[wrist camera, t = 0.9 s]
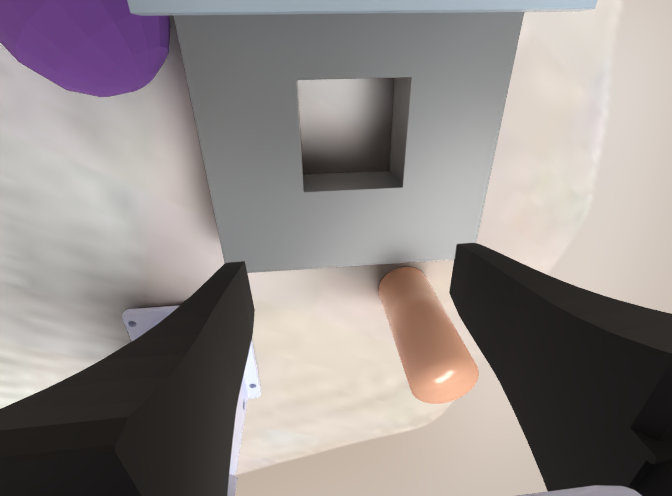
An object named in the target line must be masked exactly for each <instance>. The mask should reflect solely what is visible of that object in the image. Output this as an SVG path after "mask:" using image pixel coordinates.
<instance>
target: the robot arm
mask: <svg viewBox="0 0 672 496" xmlns="http://www.w3.org/2000/svg"><path fill="white" fill-rule="evenodd" d="M449 293H450V295H451V297H452V300H453V302H454V305H455V307H456V309H457V311H458V314H459V316H460V318H461V319H462V321H463V323H464V324H465V326H466V328H467V329H468V331H469V332H470V334H471V336H472V337H473V339H474V341H475V342H476V344H477V345H478V347H479V348H480V350H481V352H482V353H483V355H484V356H485V358H486V360H487V361H488V363H489V364H490V366H491V368H492V369H493V371H494V373H495V374H496V376H497V378H498V380H499V381H500V383H501V385H502V388H503V390H504V392H505V394H506V396H507V398H508V400H509V402H510V404H511V406H512V408H513V410H514V412H515V415H516V417H517V419H518V421H519V424H520V426H521V428H522V430H523V432H524V435H525V437H526V439H527V441H528V444H529V446H530V448H531V451H532V453H533V456H534V458H535V461H536V463H537V465H538V468H539V470H540V473H541V475H542V477H543V480H544V483H545V485H546V488H547V490H548V492H542V493H534V494H525V495H518V496H672V314H670V313H665V312H661V311H657V310H653V309H649V308H644V307H641V306H638V305H634V304H630V303H627V302H623V301H619V300H616V299H612V298H609V297H606V296H603V295H600V294H597V293H594V292H591V291H588V290H585V289H582V288H579V287H576V286H574V285H571V284H568V283H566V282H563V281H561V280H558V279H556V278H553V277H551V276H549V275H546V274H544V273H542V272H539V271H537V270H535V269H532V268H530V267H528V266H526V265H524V264H522V263H519V262H517V261H515V260H513V259H511V258H509V257H507V256H505V255H502V254H500V253H498V252H496V251H494V250H492V249H489V248H487V247H485V246H482V245H480V244H477V243H463V244H457V246H456V252H455V259H454V266H453V272H452V279H451V285H450V292H449ZM122 319H123V322H124V324H125V326H126V329H127V331H128V334H129V336H130V338H131V341H132V342H130V343H129V344H127V345H125V346H124V347H122V348H121V349H119V350H117V351H116V352H114V353H112V354H111V355H109V356H107V357H106V358H104V359H102V360H101V361H99V362H97V363H95V364H93V365H92V366H90V367H88V368H86V369H84V370H82V371H81V372H79V373H77V374H75V375H73V376H71V377H69V378H67V379H65V380H63V381H61V382H59V383H57V384H55V385H53V386H51V387H49V388H47V389H44V390H42V391H40V392H38V393H35V394H33V395H31V396H29V397H26V398H24V399H22V400H20V401H18V402H15V403H13V404H11V405H9V406H6V407H4V408H2V409H0V496H235V491H236V485H237V477H236V476H235V474H236V470H237V466H238V459H239V453H240V446H241V440H242V433H243V427H244V420H245V414H246V407H247V401H248V399H250V398H257V397H259V396H260V395H261V387H260V381H259V376H258V370H257V365H256V360H255V354H254V349H253V343H252V334H253V323H254V305H253V300H252V295H251V290H250V285H249V280H248V275H247V270H246V265H245V261H241V262H229V263H225V264H224V265H223V266H222V267H221V268H220V269H219V270H218V271H217V272H216V273H215V274H214V275H213V276H212V277H211V278H210V279H209V280H208V281H206V282H205V283H204V284H203V285H202V286H201V287H200V288H199V289H198V290H197V291H196V292H195V293H194V294H193V295H192V296H191V297H189V298H188V299H187V300H186V301H185V302H184V303H182V304H181V305H180V306H166V307H152V308H137V309H128V310H126V311H125V312H124V313H123V315H122ZM131 321H133V322H135V323H133V322H131Z"/></svg>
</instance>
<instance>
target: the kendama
mask: <svg viewBox="0 0 672 496" xmlns="http://www.w3.org/2000/svg"><path fill="white" fill-rule="evenodd" d="M170 28H171V24H170V19H169V15H165V16H140V15H136V14H132V13H130V9H129V5H128V1H127V0H0V42H1V43H2V44H3V45H4V46H5V48H6V49H7V50H8V51H9V52H10V53H11V54H12V55H13V56H14V57H15V58H16V59H17V60H18V61H19V62H20V63H22V64H23V65H25V66H27V67H28V68H30V69H32V70H33V71H35V72H37V73H38V74H40V75H42V76H44V77H45V78H47V79H49V80H50V81H52V82H54V83H56V84H57V85H59V86H61V87H62V88H64V89H66V90H69V91H74V92H79V93H84V94H89V95H93V96H98V97H109V96H114V95H119V94H123V93H128V92H133V91H136V90H138V89H140V88H142V87H144V86H145V85H147V84H148V83H149V82H151V80H152V79H153V78H154V77H155V75H156V74H157V72H158V70H159V69H160V67H161V66H162V64H163V63H164V61H165V59H166V57H167V55H168V53H169V41H170Z"/></svg>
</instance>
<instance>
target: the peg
mask: <svg viewBox="0 0 672 496" xmlns="http://www.w3.org/2000/svg"><path fill="white" fill-rule="evenodd" d="M379 296H380V299H381V302H382V305H383V308H384V311H385V314H386V317H387V320H388V323H389V326H390V329H391V332H392V335H393V338H394V341H395V344H396V347H397V350H398V353H399V356H400V359H401V362H402V365H403V368H404V371H405V374H406V377H407V380H408V383H409V386H410V389H411V391H412V393H413V395H414V396H415V397H416V398H417V399H419V400H421V401H423V402H426V403H434V404H438V403H446V402H450V401H453V400H455V399H458V398H460V397H462V396H463V395H465V394H466V393H467V392H469V391H470V390H471V389H472V388H473V387H474V385H475V383H476V382H477V380H478V376H479V371H478V367H477V365H476V364H475V362H474V360H473V358H472V357H471V355H470V353H469V351H468V350H467V348H466V346H465V344H464V343H463V341H462V339H461V337H460V336H459V334H458V332H457V330H456V329H455V327H454V325H453V323H452V322H451V320H450V318H449V317H448V315H447V313H446V311H445V310H444V308H443V306H442V304H441V303H440V301H439V299H438V297H437V296H436V294H435V292H434V290H433V289H432V287H431V285H430V283H429V282H428V280H427V278H426V276H425V275H424V274H423V273H422V272H421V271H420V270H418V269H416V268H413V267H400V268H397V269H394V270H392V271H391V272H389V273H388V274H386V275H385V276H384V278H383V279H382V280H381V282H380V285H379Z"/></svg>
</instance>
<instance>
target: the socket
mask: <svg viewBox="0 0 672 496" xmlns="http://www.w3.org/2000/svg"><path fill="white" fill-rule="evenodd" d="M127 1H128V5H129V9H130V13H132V14H136V15H140V16H165V15H173V16H174V21H175V26H176V30H177V35H178V40H179V45H180V50H181V55H182V59H183V64H184V69H185V74H186V79H187V84H188V88H189V93H190V98H191V103H192V108H193V113H194V117H195V122H196V127H197V132H198V137H199V142H200V147H201V151H202V156H203V161H204V166H205V171H206V176H207V180H208V185H209V190H210V195H211V200H212V205H213V209H214V214H215V219H216V224H217V229H218V234H219V238H220V243H221V248H222V253H223V258H224V263H229V262H241V261H245V265H246V270H247V273H252V272H268V271H283V270H299V269H315V268H331V267H346V266H362V265H378V264H394V263H409V262H425V261H441V260H454V259H455V252H456V246H457V244H463V243H476V241H477V236H478V232H479V227H480V222H481V217H482V212H483V208H484V203H485V198H486V193H487V188H488V184H489V179H490V174H491V169H492V164H493V160H494V155H495V150H496V145H497V140H498V136H499V131H500V126H501V121H502V116H503V112H504V107H505V102H506V97H507V92H508V88H509V83H510V78H511V73H512V68H513V64H514V59H515V54H516V49H517V44H518V40H519V35H520V30H521V25H522V20H523V16H524V12H557V11H584V10H589V9H595V6H596V3H597V0H127ZM356 78H395V85H394V101H393V118H392V134H391V151H390V168H389V171H369V172H346V173H323V174H303V163H302V148H301V132H300V117H299V102H298V86H297V80H314V79H356Z"/></svg>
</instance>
